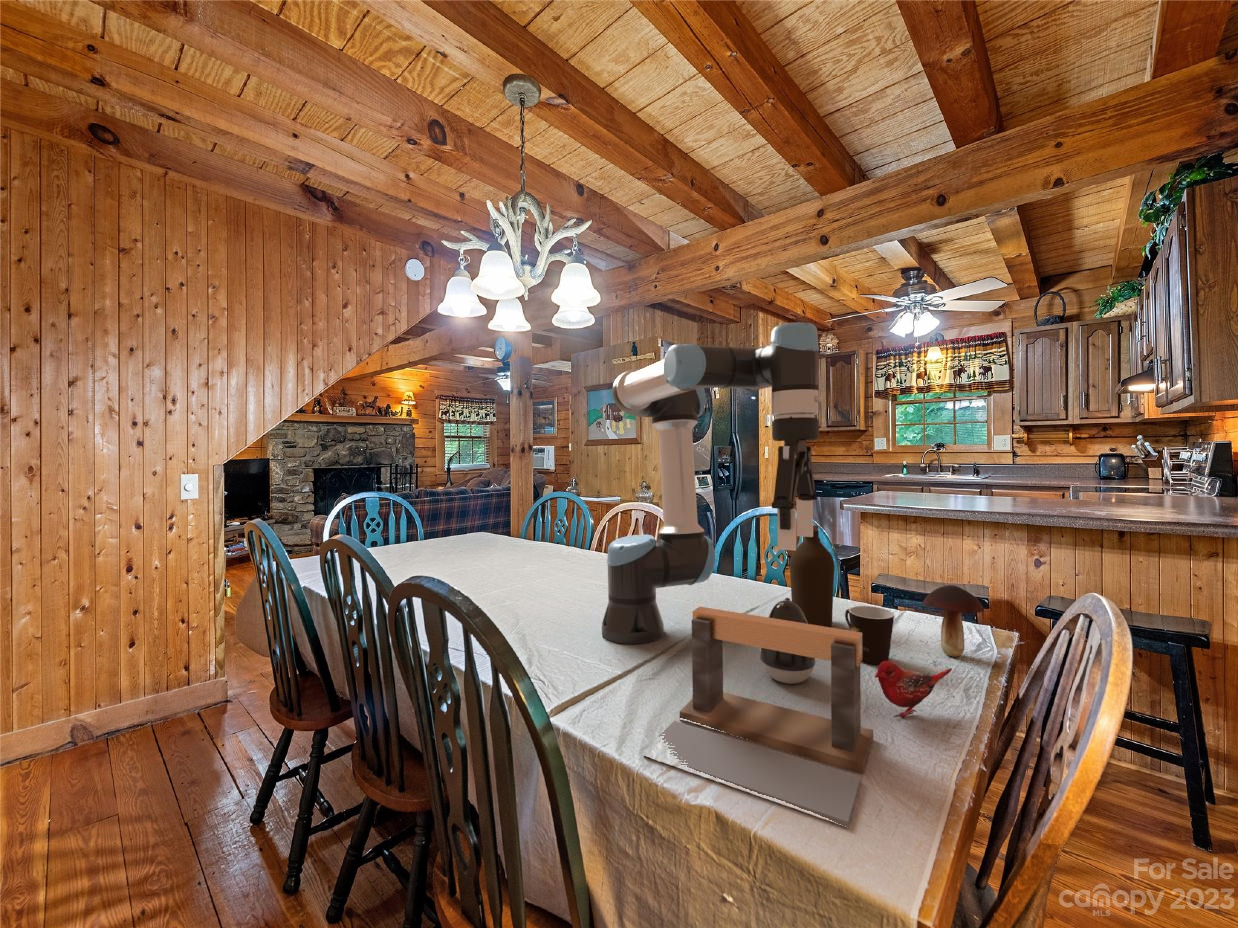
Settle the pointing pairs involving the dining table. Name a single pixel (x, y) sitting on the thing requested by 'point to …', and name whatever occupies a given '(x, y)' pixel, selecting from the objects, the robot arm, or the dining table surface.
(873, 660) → the coffee mug
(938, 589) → the decorative mushroom
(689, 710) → the rail stand
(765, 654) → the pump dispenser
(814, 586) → the olive oil
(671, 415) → the robot arm
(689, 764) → the rubber mat
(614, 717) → the dining table surface
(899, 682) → the decorative bird figurine
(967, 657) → the dining table surface
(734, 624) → the copper rail
